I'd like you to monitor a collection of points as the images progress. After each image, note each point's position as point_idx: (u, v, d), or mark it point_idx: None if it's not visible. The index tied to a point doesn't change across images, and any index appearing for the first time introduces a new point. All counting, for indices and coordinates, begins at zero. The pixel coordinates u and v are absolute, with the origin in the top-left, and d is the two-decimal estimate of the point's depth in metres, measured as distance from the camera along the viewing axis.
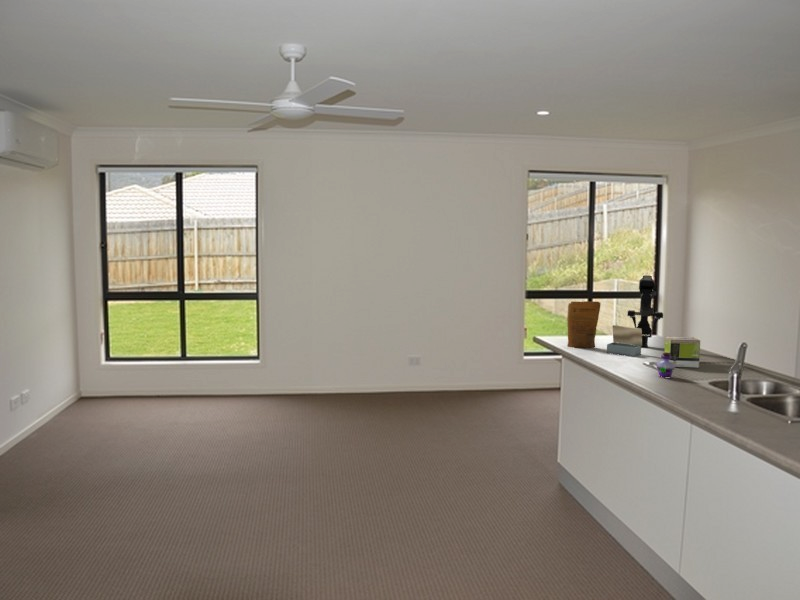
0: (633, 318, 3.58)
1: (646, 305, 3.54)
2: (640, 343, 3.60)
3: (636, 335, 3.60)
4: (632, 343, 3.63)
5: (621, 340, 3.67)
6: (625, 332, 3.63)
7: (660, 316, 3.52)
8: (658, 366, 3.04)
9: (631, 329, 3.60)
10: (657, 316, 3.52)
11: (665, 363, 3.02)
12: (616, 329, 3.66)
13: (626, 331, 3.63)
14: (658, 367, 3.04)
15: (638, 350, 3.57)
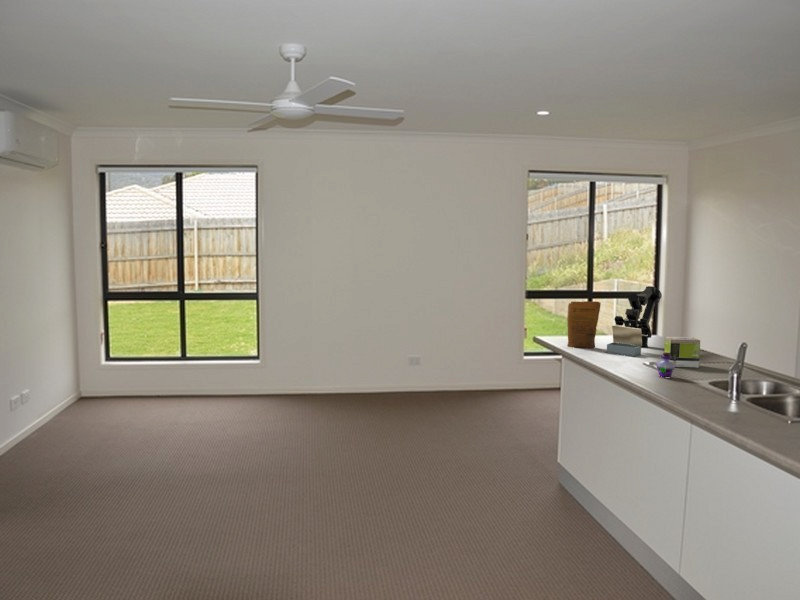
0: (626, 322, 3.66)
1: None
2: (640, 343, 3.60)
3: (636, 335, 3.60)
4: (632, 343, 3.63)
5: (621, 340, 3.67)
6: (625, 332, 3.63)
7: (644, 320, 3.61)
8: (658, 366, 3.04)
9: (631, 329, 3.60)
10: (641, 320, 3.61)
11: (665, 363, 3.02)
12: (616, 329, 3.66)
13: (626, 331, 3.63)
14: (658, 367, 3.04)
15: (638, 350, 3.57)
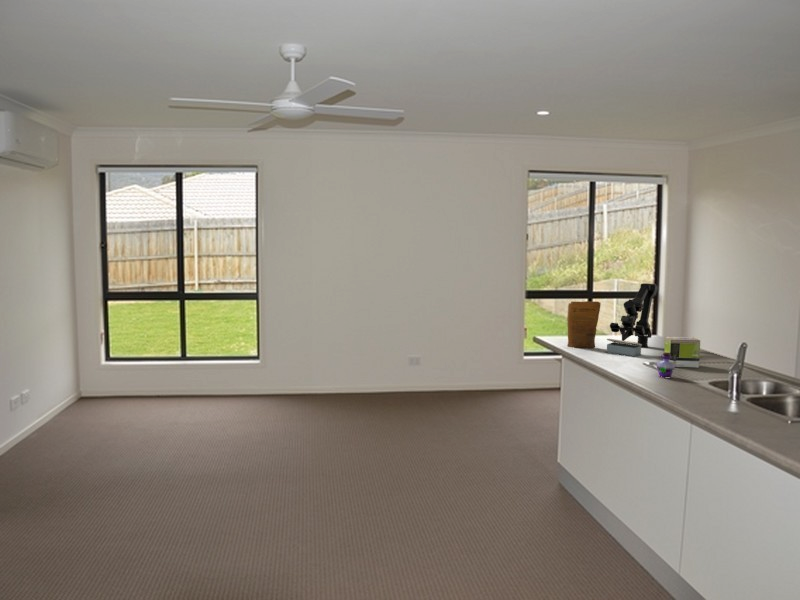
0: (622, 329, 3.61)
1: None
2: (639, 345, 3.60)
3: None
4: (632, 344, 3.63)
5: (620, 342, 3.66)
6: (621, 342, 3.60)
7: (640, 327, 3.56)
8: (658, 366, 3.04)
9: (626, 342, 3.56)
10: (637, 327, 3.57)
11: (665, 363, 3.02)
12: (611, 340, 3.63)
13: (622, 342, 3.59)
14: (658, 367, 3.04)
15: (638, 350, 3.57)
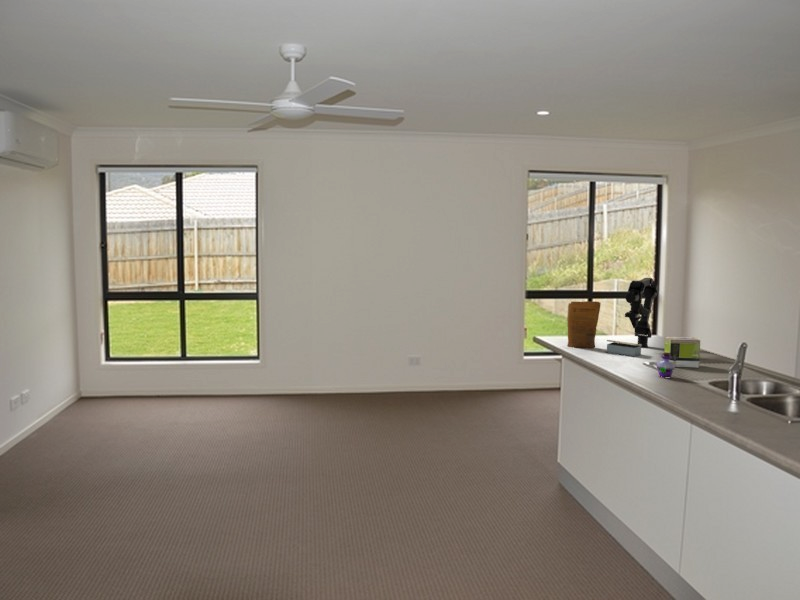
0: (638, 318, 3.69)
1: (641, 305, 3.69)
2: (639, 345, 3.60)
3: None
4: None
5: None
6: None
7: None
8: (658, 366, 3.04)
9: (626, 343, 3.56)
10: (644, 314, 3.75)
11: (665, 363, 3.02)
12: (611, 341, 3.63)
13: None
14: (658, 367, 3.04)
15: (638, 350, 3.57)
